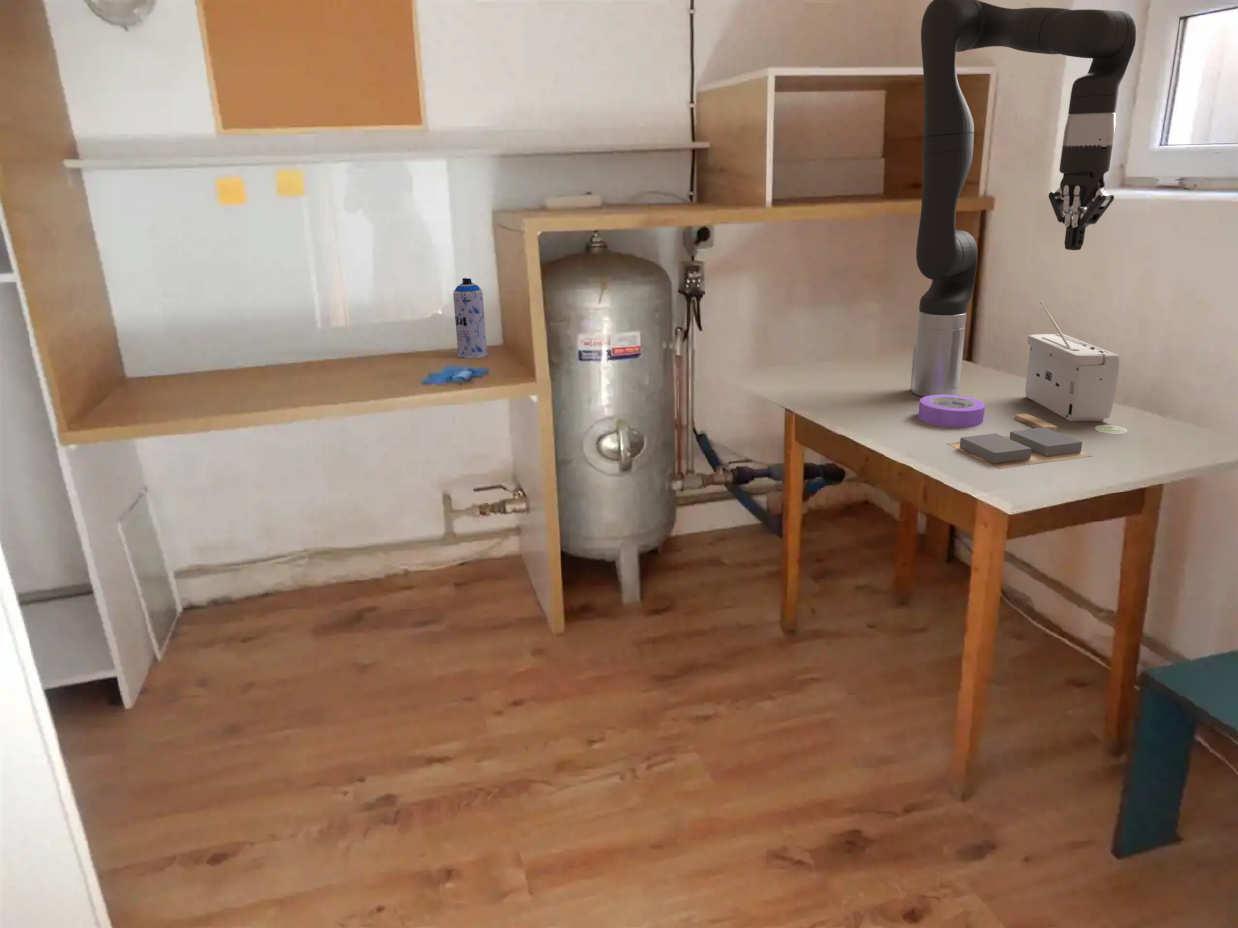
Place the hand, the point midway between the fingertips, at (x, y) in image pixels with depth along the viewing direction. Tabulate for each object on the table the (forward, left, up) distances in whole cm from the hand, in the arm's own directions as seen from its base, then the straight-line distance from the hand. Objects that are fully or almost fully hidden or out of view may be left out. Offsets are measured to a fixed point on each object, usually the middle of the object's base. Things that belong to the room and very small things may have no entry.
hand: (1073, 249), depth 157 cm
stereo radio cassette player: (-9, +11, -32) cm, 35 cm away
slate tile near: (+6, -20, -30) cm, 37 cm away
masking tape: (-10, -14, -32) cm, 37 cm away
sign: (+10, +5, -33) cm, 35 cm away
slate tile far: (+6, -10, -30) cm, 33 cm away
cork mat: (+10, -15, -32) cm, 37 cm away
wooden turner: (+2, -2, -32) cm, 32 cm away
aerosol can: (-105, -92, -32) cm, 143 cm away
